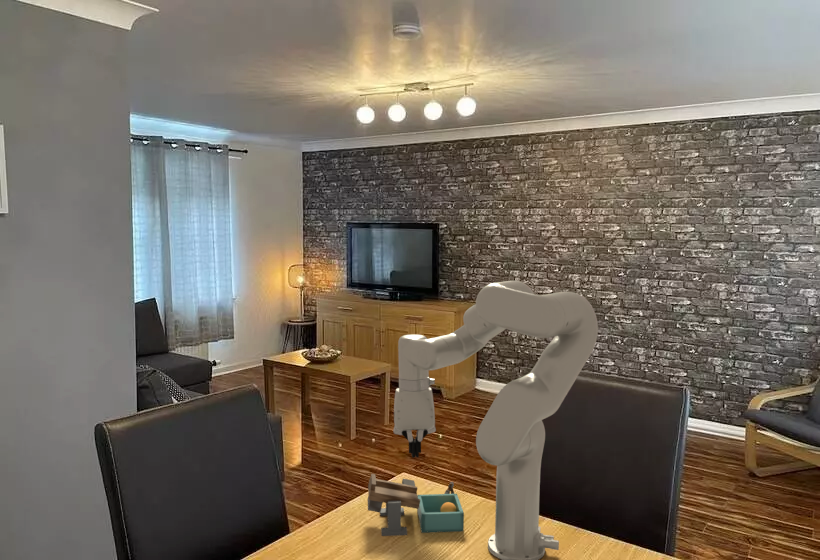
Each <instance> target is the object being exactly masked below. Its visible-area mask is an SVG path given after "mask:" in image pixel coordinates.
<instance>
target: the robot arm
mask: <svg viewBox="0 0 820 560" xmlns="http://www.w3.org/2000/svg"><path fill="white" fill-rule="evenodd" d="M462 319H463V320H462V321H463V325H462V326H460V327H459V328H458V329H456V330H454V331H453V332H451V333H448V334H446V335H445V334H444V335H440V336H435V337H431V338H427V336H425V335H422V334H416V333H415V334H413V333H412V334H404V335H402V336H400V337H399V339H398V341H397V342H398V346H397V350H398V387H397V388H396V389H395V393H394V402H393V403H394V405H393V423H394V427H393V434H394V435H399V436H403V438H404V439H406V440H407V441H408V453H409V454H410V455H411V458H413V459H414V458H419V457H420V456H419V454H421V453H422V441H423V439H424V438H425V437H426V436H427V435H428V434H432V433H435V432H436V431H437V429H436V419H435V418H436V415H435V404H434V394H433V389H432V388H431V386H432V385H435V383H436V382H435V378H430V374H429V372H430V371H436V370H438V369H443V368H445V367H450V366H452V365H453V366H454V365H457V364H460V363H461V362H464V361H465V360H467V359H468V358H470V357H471V356H473V355H474V354H476V353H477V352H480V350H482V349H483V348H484V347H485V346H486V345H487V344H488V342H489V341H490V340H492V339H493V338H494V337H496V336H498V335H499V334H501V333H502V332H503V331H505V330H508V331H511V332H515V333H519V334H521V335H526V336H528V337H532V338H536V339H549V338H552V337H553V338H552V340H551V341H550V342H549V343H548V344H547V346H546V347H545V348H544V349H543V351H542V352H541V354H540V357H539V358H538V360H537V361H536V363H535V365H534V366H533V368H532V369H531V370H530V372H529V373H527V374H525V375H524V376H521V377H519V378H517V379H514V380H511V381H510V382H507V383H506V384H505V385H504V386H503V387H502V388H501V389H500V390H499V392H498V393H497V395H496V396H495V398H494V400H493V402H492V403H491V405H490V407H489V409H488V411H487V412H486V414H485V416H484V417H483V420H481V423H480V424H479V426H478V429H477V432H476V435H475V436H476V437H475V446H476V449H477V453H478V454H479V456H480V458H481V459H482V460H483V461H484V462H485V463H487V464H489V465H491V466H496V477H495V478H496V479H495V481H496V483H495V525H494V526H495V528H494V529H495V530H494V533H493V534H491V536H490V537H489V538H488V540H487V549H488V551H489V552H490V553H491V554H492V555H493V556H494V557H496V558H497V559H500V560H540V559H542V558H543V556H545V554H546V549H550V550H556V551H559V547H560V542H559V540H557V539H554V538H555V536H554V535H551V534H544V533H543V532H541V526H539V523H540V522H539V519H540V518H539V517H540V490H541V489H540V485H541V468H542V460H543V459H542V457H543V453H544V447H545V441H546V429H545V425H544V421H543V420H544V419H547V418H549V417H551V416H552V415H554V414H556V412H557V411H558V410H559V408H560V407H561V405H562V403H563V402H564V400H565V398H566V396H568V393H569V392H570V390H571V389H572V387H573V385H574V383H575V381H576V380H577V378H578V376H579V375H580V373H581V371H582V369H583V368H584V366H585V364H586V363H587V362H588V360H589V358H590V357H591V354H592V352H593V351H594V348H595V346H596V342H597V339H598V334H599V333H598V332H599V326H598V325H599V324H598V319H597V315H596V312H595V310H594V308H593V306H592V305H591V302H589V300H588V299H587V298H586V297H584V296H583V295H582V294H579V293H577V292H574V291H573V292H572V291H560V292H553V293H549V294H547V293H546V294H541V295H540V294H535V293H534V291H533V290H532V288H531V287H530V286H529V285H527V284H526V283H524V282H523V281H520V280H507V281H498V282H493V283H490V284H487V285H485V286H484V287H482V288H481V290H480V291H479V292H478V294H477V296H476V298H475V304H473V305H472V306H470V307H469V308H468V309H467V310H465V311H464V314H463V318H462ZM412 431H416V436H415V437H414V436H413V433H412Z"/></svg>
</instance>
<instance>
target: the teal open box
mask: <svg viewBox="0 0 820 560" xmlns="http://www.w3.org/2000/svg"><path fill="white" fill-rule="evenodd" d="M417 496H418V499H420V504H419V508H418V509H416V512H417V513H416V514H417V518H418V523H419V528H420V532H421V534H426V533H451V532H452V533H454V532H456V533H457V532H459V533H460V532H464V530H465V529H464V528H465V527H464V523H465V521H464V519H465V513H464V509H463V507H462V504H461V501H460V499H459V496H458V493H454V494H451V493H450V494H444V493H440V494H439V493H438V494H437V493H434V494H431V493H430V494H428V493H427V494H417ZM446 502H451V503H453V504H454V505H455V506H456V509H457V512H441V511H440V510H441V506H442V505H443V504H444V503H446Z"/></svg>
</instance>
